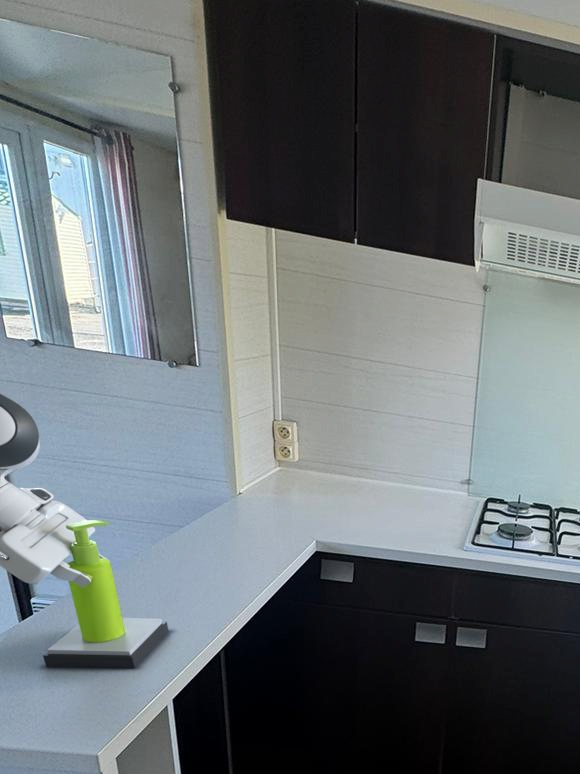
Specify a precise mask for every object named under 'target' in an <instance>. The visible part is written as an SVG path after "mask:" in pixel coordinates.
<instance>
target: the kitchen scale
mask: <svg viewBox="0 0 580 774" xmlns="http://www.w3.org/2000/svg"><path fill="white" fill-rule="evenodd" d="M122 619H123V623H124V628H125V633H124V634H123V635H122V636H121V637H119V638H116V639H114V640H110V641H105V642H89V641H86V640H84V639H83V637H82V633H81V629H80V625H79V623H78V624H77V625H76V626H75V627H73V628H72V629H70V630H69V631H68V632H67V633H66V634H65V635H63V636H61V638H60V639H58V640H57V641H56V642H55V643H54V644H52V645H51V646H50V647H49V648H48V649H47V650H46V651H47V652H46V653H44V654H43V655H42V657H43V661H44V664H45V667H46V668H93V669H94V668H98V669H136V668H137V667H138V666H139V664H140V663H142V661H143V660H144V659H145V658H146V657H147V656H148V655H149V654H150V652H152V651H153V650H154V648H155V647H156V646H157V645H158V644H159V643H160V642H161V641H162V640H163V639H164V638H165V636H167V635H168V633H169V632H170V631H169V626H168V622H167V621H163V620H162V618H145V617H143V618H141V617H122Z"/></svg>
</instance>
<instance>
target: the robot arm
mask: <svg viewBox="0 0 580 774" xmlns="http://www.w3.org/2000/svg"><path fill="white" fill-rule="evenodd" d="M40 440H41V439H40V432H39V429H38V425H37V423H36V421H35V420H34V418H33V417H32V415H31V414H30V413H29V412H28V411H27V410H26V409H25V408H24V407H23V406H21V405H20V404H18V402H16V401H14V400H13V399H11V398H9V397H7V396H6V395H3V394H2V393H0V567H1V568H3V569H4V570H6V571H7V572H8V573H10V574H12V575H13V576H14V577H16V578H17V579H19V580H20V581H22V582H23V583H26V584H29V585H35V586H37V585H39V584H40V583H41V582H42V581H43V580H45V578H47V577H48V576H49V575H52V576H54V577H55V578H56V579H60V580H64V581H67V582H69V581H71V582H74V583H76V584H77V585H79V586H81V587H86V586H87V585H88V584H89V583H90V582H91V581H92V580H93V576H91V575H89V574H88V573H86V572H85V571H83V572H79V571H77V570H74V569H72V568H69V567H70V565H68V564H67V563H68V562H65V560H66V559H68V557H69V556H71V555H72V549H71V547H70V545H71V544H72V543H74V542H75V541H76V539H75V535H74V531H71V530H68V529H67V528H66V525H69V524H73V523H77V522H81V521H87V520H88V519H86V518H85V517H84V516H82V515H81V514H80V513H78V512H76V511H75V510H74V509H72V508H71V507H69V506H68V505H66V504H64V503H63V502H61V501H59V500H55V499H54V498H55V496H54V494H53V493H52V492H50V491H49V490H47V489H45V488H44V487H43V488H42V487H35V488H34V487H33V488H27V487H17V486H15V485H14V484H13V483H11V482H10V481H8V480H7V479H6V478H5V477H6V476H8V475H10V474H12V473H14V472H15V471H18V470H20V469H22V468H26V467H27V466H28V465H30V464H32V462H34V460H35V459H36V458H37V456H38V455H39V453H40V449H41V441H40ZM53 499H54V500H53ZM87 532H88V537H89V538H90V537H91V536H92V535H93V534H94V533H95V532H96V528H95V527H90V528H87ZM99 556H100V558H103V559H107V560H109V559H108V558H106V557H105V556H103V555H102V554H101V553H100V552H99Z"/></svg>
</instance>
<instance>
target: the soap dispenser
mask: <svg viewBox="0 0 580 774" xmlns="http://www.w3.org/2000/svg"><path fill="white" fill-rule="evenodd" d="M86 520H87V521H81V522H77V523H73V524H69V525H66V528H67V529H68V530H71V531H74V535H75V539H76V541H75V542H74V543H72V544H71V545H70V547H71V549H72V553H71V555H72V559H73V560H72V561H69V562H66V563H67V564H68V565H70V567H69V568H72V569H74V570H77V571H79V572H83V571H85V572H86V573H88V574H89V575H91V576H93V580H92V581H91V582H90V583H89V584H88V585H87V586H86V587H81V586H79V585H77V584H76V583H74V582H71V581H68V584H69V588H70V592H71V593H70V594H71V596H72V601H73V604H74V605H73V606H74V609H75V612H76V616H77V617H76V618H77V621H78V624H79V625H80V629H81V633H82V637H83V639H84V640H86V641H89V642H105V641H110V640H114V639H116V638H119V637H121V636H122V635H123V634H124V633H125V628H124V623H123V619H122V618H123V615H122V610H121V605H120V600H119V596H118V592H117V591H118V590H117V586H116V582H115V577H114V572H113V567H112V562H111V561H110V560H109V559H108V558H106V559H103V558H100V556H99V553H100V552H99V547H98V544H97V542H96V541H94V540H92V539H90V537H88V532H87V528H90V527H94V528H95V527H100V526H101V527H102V526H103V527H104V526H105V527H106V526H109V525H110V522H109V521H106V520H103V519H86ZM107 559H108V560H107Z"/></svg>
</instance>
